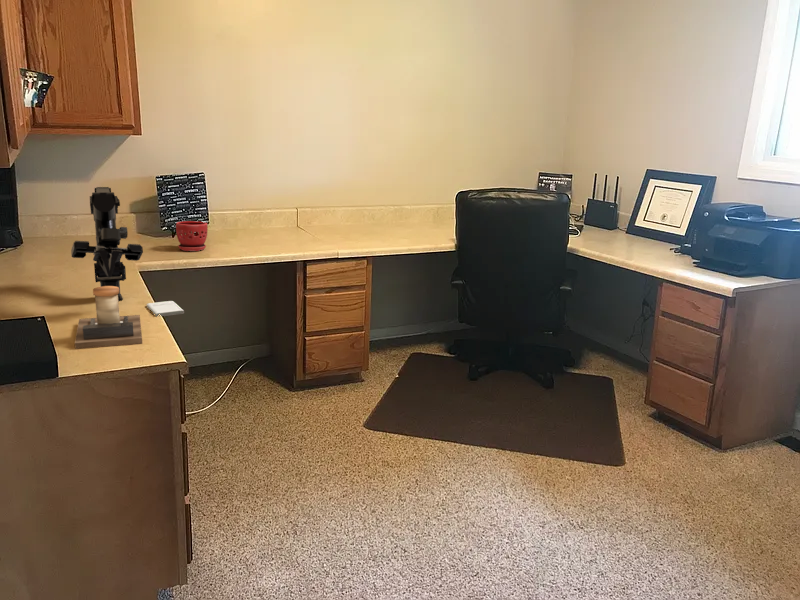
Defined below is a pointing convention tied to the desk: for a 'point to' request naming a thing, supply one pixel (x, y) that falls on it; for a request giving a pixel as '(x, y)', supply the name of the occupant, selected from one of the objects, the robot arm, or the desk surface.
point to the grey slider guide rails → (108, 330)
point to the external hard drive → (165, 308)
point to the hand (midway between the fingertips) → (109, 276)
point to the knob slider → (107, 304)
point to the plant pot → (191, 235)
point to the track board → (109, 341)
